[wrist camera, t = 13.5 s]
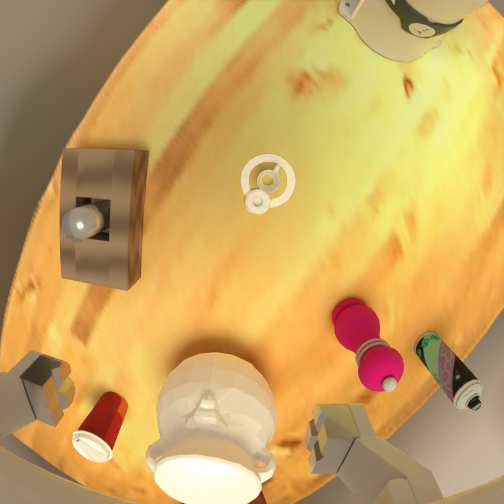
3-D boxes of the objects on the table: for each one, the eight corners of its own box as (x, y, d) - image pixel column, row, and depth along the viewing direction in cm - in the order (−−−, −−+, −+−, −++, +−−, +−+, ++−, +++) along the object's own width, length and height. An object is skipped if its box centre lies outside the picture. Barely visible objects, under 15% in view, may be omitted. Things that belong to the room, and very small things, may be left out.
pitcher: (277, 334, 52) (290, 449, 28) (270, 412, 57) (274, 519, 32) (167, 328, 52) (115, 432, 28) (176, 406, 57) (146, 507, 32)
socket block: (83, 149, 44) (63, 148, 38) (149, 151, 44) (134, 149, 38) (79, 266, 49) (61, 277, 43) (140, 277, 49) (127, 290, 44)
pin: (96, 198, 45) (62, 207, 35) (120, 200, 45) (89, 210, 36) (95, 225, 46) (62, 240, 37) (118, 228, 46) (88, 244, 37)
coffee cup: (91, 395, 57) (63, 440, 42) (112, 382, 56) (83, 431, 41) (118, 420, 59) (96, 467, 44) (140, 409, 57) (119, 460, 43)
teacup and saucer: (257, 221, 47) (257, 226, 43) (225, 177, 46) (222, 178, 42) (305, 187, 46) (309, 189, 42) (274, 143, 44) (275, 140, 40)
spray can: (441, 332, 52) (496, 391, 33) (430, 356, 53) (478, 419, 34) (421, 329, 52) (475, 392, 32) (409, 354, 53) (456, 421, 34)
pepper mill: (329, 297, 50) (367, 368, 31) (371, 293, 50) (424, 358, 30) (328, 335, 52) (359, 415, 32) (367, 331, 52) (412, 404, 32)
